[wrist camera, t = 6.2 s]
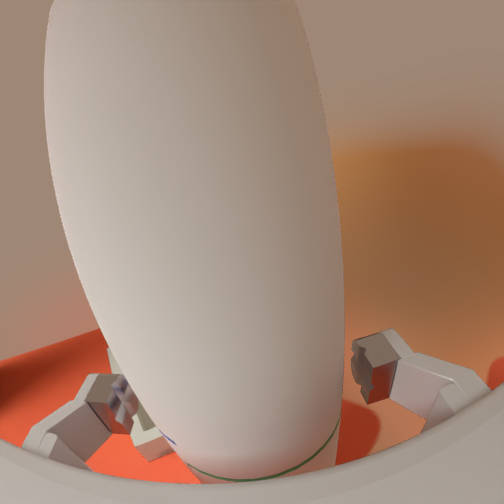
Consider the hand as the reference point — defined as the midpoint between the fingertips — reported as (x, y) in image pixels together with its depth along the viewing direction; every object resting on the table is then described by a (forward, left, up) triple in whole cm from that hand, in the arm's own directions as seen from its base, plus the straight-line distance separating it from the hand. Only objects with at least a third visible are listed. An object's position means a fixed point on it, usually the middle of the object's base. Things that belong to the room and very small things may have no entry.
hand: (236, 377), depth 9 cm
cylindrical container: (0, 0, -13) cm, 13 cm away
